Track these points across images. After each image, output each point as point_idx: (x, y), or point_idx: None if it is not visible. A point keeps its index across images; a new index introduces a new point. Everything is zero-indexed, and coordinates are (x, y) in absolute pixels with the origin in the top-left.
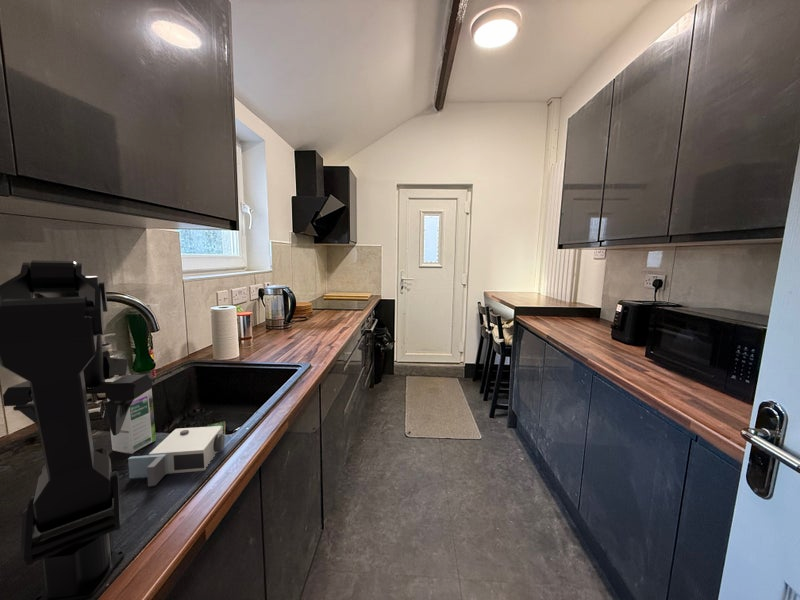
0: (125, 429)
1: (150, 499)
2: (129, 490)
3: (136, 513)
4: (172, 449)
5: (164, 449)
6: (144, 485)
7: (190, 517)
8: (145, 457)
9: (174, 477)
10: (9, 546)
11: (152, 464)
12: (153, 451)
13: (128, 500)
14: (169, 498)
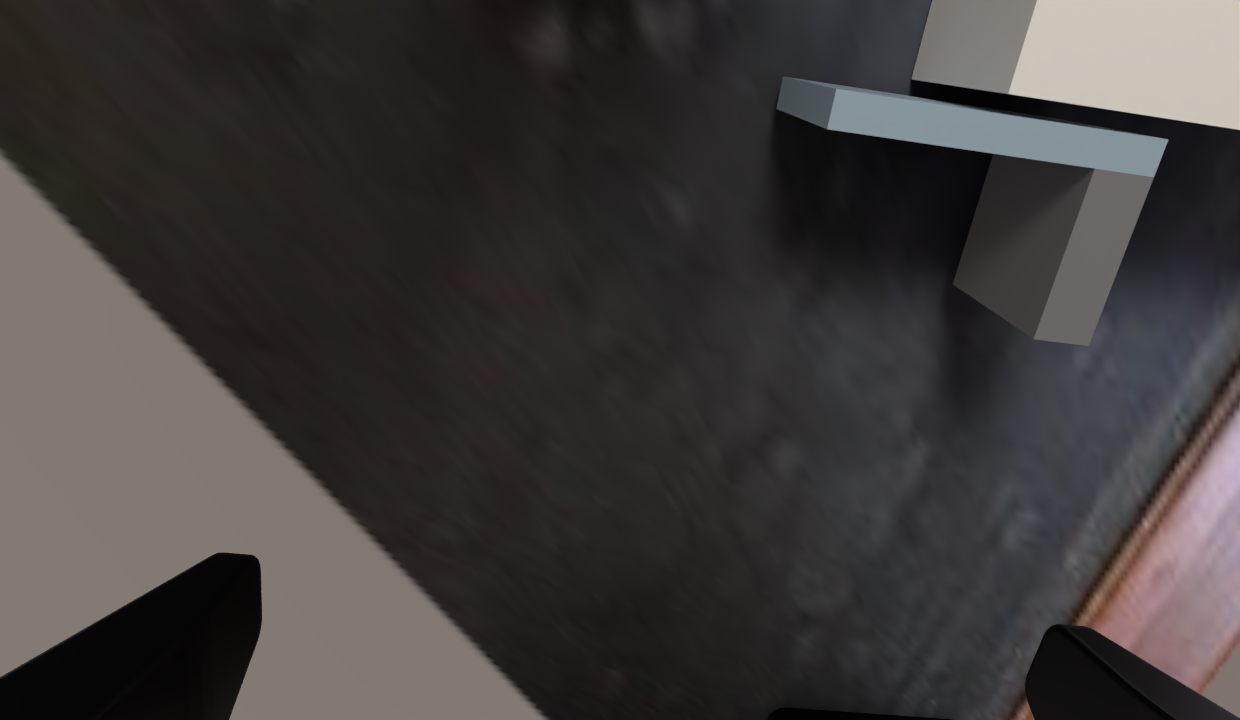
0: None
1: (978, 386)
2: (818, 251)
3: (932, 488)
4: (1224, 65)
5: (1145, 35)
6: (902, 217)
7: (1203, 581)
8: (984, 149)
9: None
10: (413, 570)
11: (1071, 305)
12: (1043, 51)
13: (849, 361)
14: (1087, 406)
